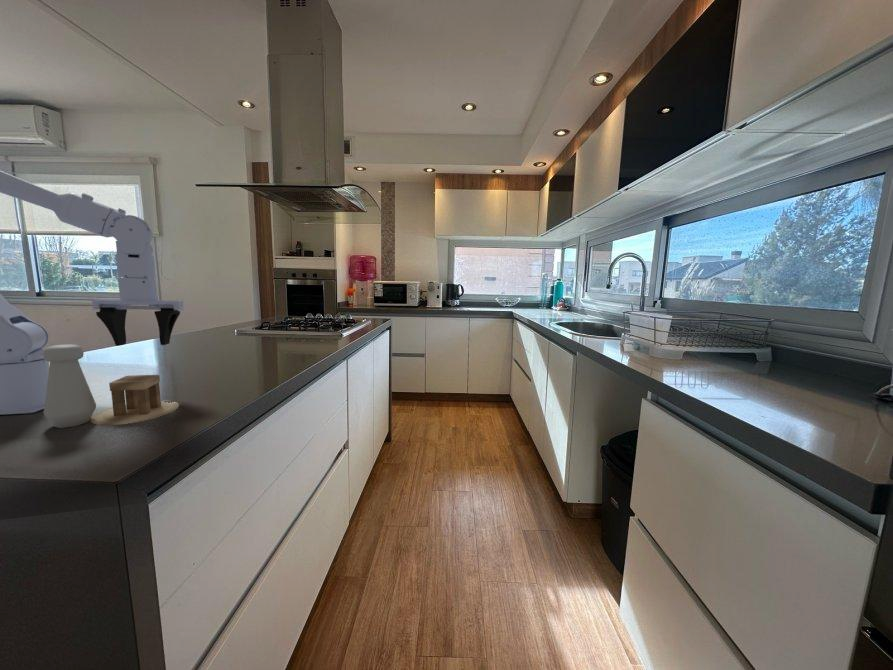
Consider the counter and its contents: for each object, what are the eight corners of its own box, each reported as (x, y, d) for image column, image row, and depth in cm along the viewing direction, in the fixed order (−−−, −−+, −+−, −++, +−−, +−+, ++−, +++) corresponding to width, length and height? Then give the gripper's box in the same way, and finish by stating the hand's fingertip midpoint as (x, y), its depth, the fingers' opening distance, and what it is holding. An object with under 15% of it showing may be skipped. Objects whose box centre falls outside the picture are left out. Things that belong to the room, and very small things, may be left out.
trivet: (70, 429, 55) (70, 426, 55) (118, 404, 67) (118, 402, 67) (159, 423, 58) (159, 421, 58) (190, 400, 70) (190, 398, 70)
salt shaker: (107, 417, 59) (99, 343, 58) (68, 431, 54) (57, 349, 52) (76, 415, 60) (67, 341, 58) (34, 428, 54) (23, 347, 52)
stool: (112, 416, 60) (109, 382, 59) (130, 406, 64) (127, 375, 64) (147, 414, 61) (144, 381, 60) (162, 405, 66) (159, 374, 65)
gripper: (77, 276, 64) (85, 348, 66) (169, 279, 68) (175, 347, 70) (103, 277, 70) (110, 342, 72) (186, 279, 74) (190, 341, 76)
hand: (143, 344), depth 71 cm, fingers open, 7 cm apart
